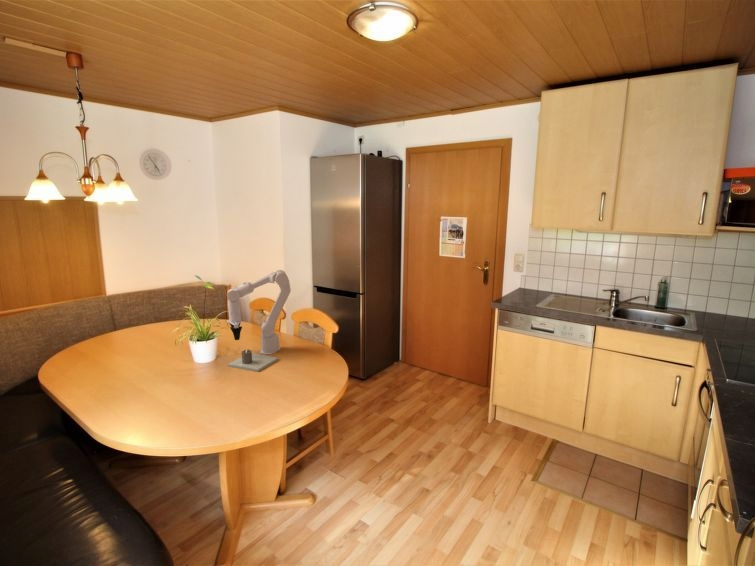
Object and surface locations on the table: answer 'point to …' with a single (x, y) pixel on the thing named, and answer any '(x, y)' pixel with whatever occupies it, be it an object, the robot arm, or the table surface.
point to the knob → (247, 356)
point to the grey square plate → (254, 362)
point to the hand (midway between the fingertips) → (236, 337)
